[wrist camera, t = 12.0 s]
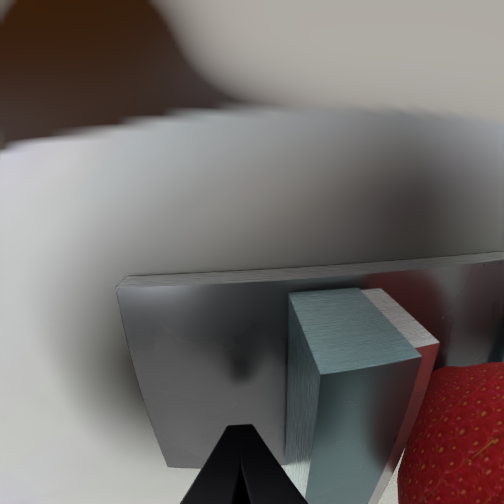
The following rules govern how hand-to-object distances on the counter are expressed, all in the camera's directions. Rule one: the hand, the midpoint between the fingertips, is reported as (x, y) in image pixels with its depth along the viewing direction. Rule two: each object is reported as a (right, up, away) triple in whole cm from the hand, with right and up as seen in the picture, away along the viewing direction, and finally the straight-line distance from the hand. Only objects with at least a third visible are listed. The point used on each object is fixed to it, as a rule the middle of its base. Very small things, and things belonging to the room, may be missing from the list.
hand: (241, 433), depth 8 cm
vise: (+5, +1, +3) cm, 6 cm away
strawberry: (+7, +1, +2) cm, 7 cm away
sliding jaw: (+3, +1, +1) cm, 3 cm away
